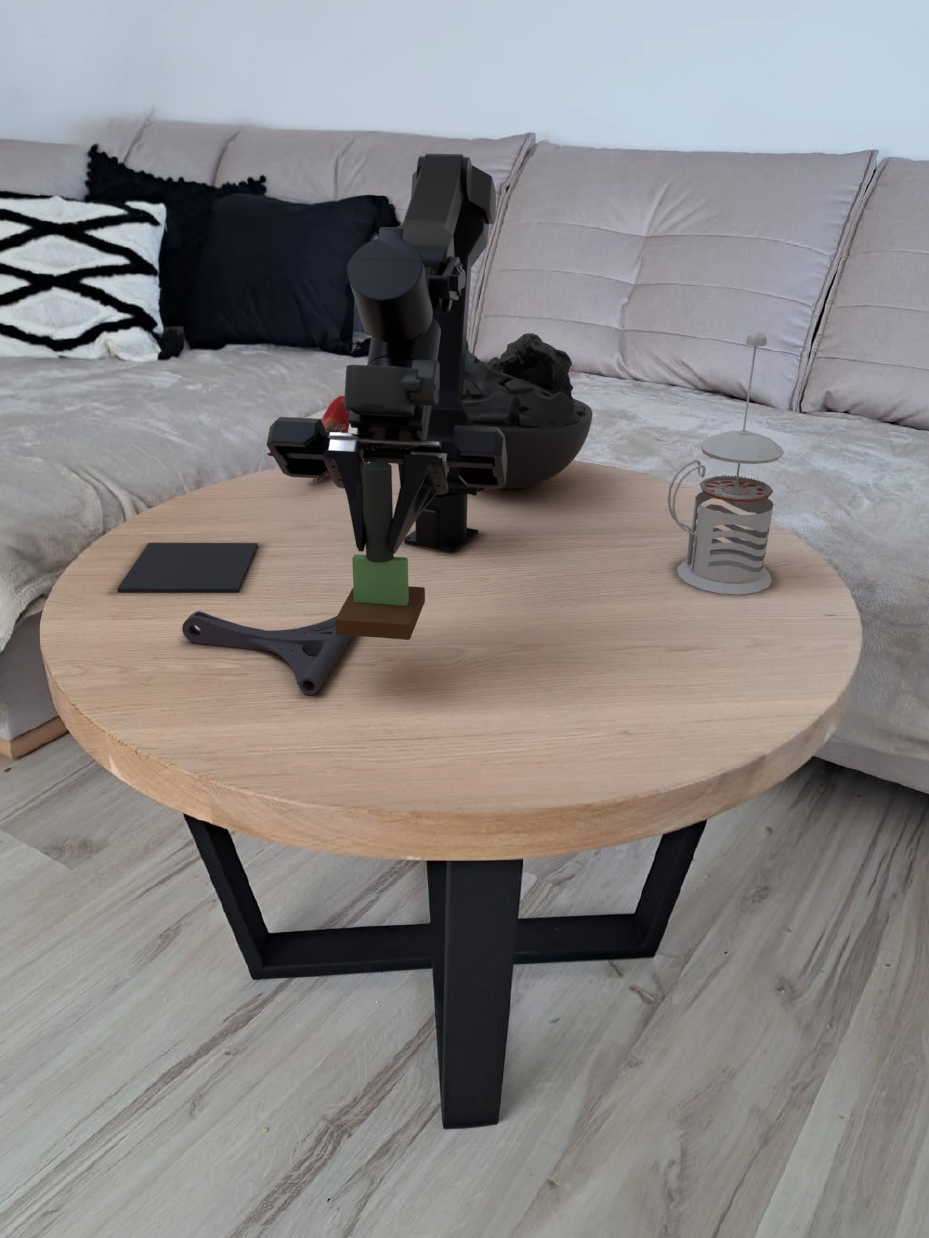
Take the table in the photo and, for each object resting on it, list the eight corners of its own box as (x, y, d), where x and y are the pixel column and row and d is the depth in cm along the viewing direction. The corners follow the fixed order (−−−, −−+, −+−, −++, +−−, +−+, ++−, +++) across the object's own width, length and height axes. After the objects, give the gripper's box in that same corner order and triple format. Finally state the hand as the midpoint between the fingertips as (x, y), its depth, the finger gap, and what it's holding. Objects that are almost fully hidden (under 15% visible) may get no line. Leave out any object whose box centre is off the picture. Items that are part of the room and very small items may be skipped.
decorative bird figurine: (363, 466, 136) (361, 393, 131) (280, 504, 122) (274, 424, 118) (346, 462, 137) (343, 390, 133) (261, 500, 123) (255, 421, 119)
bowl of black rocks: (606, 473, 134) (617, 330, 126) (557, 521, 118) (566, 361, 110) (471, 453, 142) (473, 317, 133) (407, 496, 125) (404, 344, 117)
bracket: (218, 605, 97) (215, 579, 96) (366, 619, 94) (365, 592, 93) (150, 679, 84) (146, 650, 83) (319, 697, 82) (316, 668, 81)
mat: (149, 546, 110) (148, 542, 110) (258, 546, 110) (257, 542, 110) (117, 592, 99) (116, 588, 99) (238, 592, 100) (237, 588, 99)
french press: (786, 593, 101) (830, 341, 89) (674, 596, 100) (704, 343, 88) (753, 555, 109) (788, 321, 98) (649, 557, 108) (673, 322, 97)
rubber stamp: (356, 597, 85) (349, 450, 79) (425, 601, 84) (423, 454, 79) (335, 634, 79) (327, 478, 73) (409, 640, 78) (407, 483, 72)
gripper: (264, 313, 76) (227, 499, 71) (507, 322, 74) (487, 515, 69) (300, 390, 86) (270, 557, 82) (514, 400, 84) (496, 572, 79)
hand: (375, 550), depth 78 cm, fingers closed on rubber stamp, 2 cm apart
